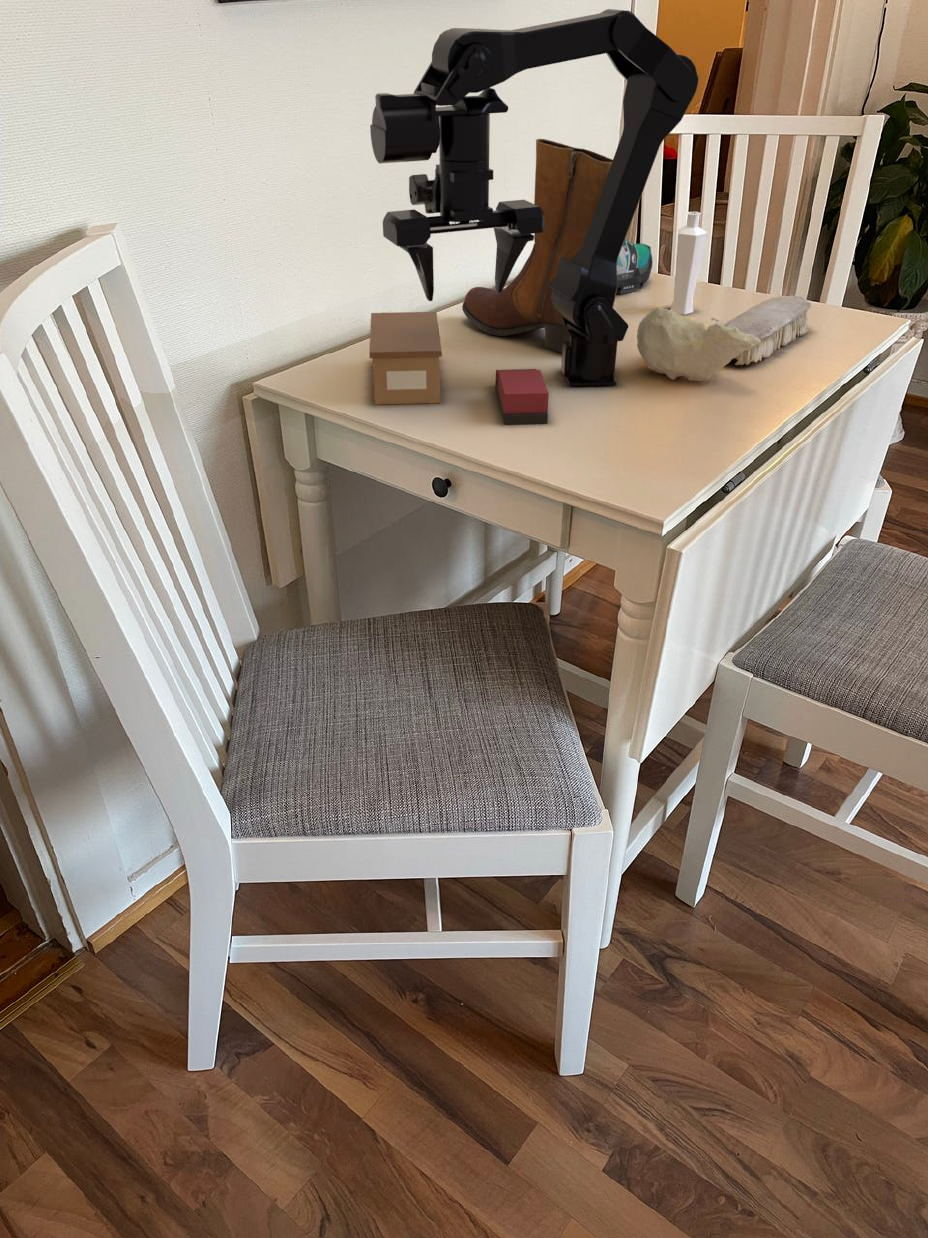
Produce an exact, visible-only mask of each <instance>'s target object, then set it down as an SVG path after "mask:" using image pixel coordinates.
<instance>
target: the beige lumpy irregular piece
mask: <svg viewBox="0 0 928 1238" xmlns="http://www.w3.org/2000/svg"><path fill="white" fill-rule="evenodd" d="M710 321H712V322H713V321H716V322H715V323H714V324H707V323H705V322H702V321H698V320H695V319H692V318H690V317H688V316H685V315H683V314H678V313H676V312H674V311H671V310H670V309H666V308H663V307H656V308H653V309H652V310H651V311H649V312H648V313H647V314H646V315H645V316H644V317H643V318H642V319H641V321H640V322H639V324H638V327H637V331H636V332H637V334H636V338H637V344H636V346H637V350H638V353H639V354H640V356H641V357H642V359H643V360H644V362H645V363H646V365H647V368H648V369H649V370H652V371H654V372H656V373H659V374H665V376H667V377H668V378H669V379H670V380H672V381H674V380H675V379H677V377H682V376H683V377H685V379H686V378H687V380H688V381H694V382H699V381H706V382H708V383H710V382H712V381H713V380H715V378H716V377H717V376H718V374H719V373H720V371H721V369H722V368H724V367H725V366H727V365H728V364H730V363H731V362H732V360H733V359H734V358H735V357H737V356H738V355H739V354H740V353H741V352H743V351H745V350H750V349H752V348H755V347H757V346H758V345H759V344H760V343H761V340H760V339H759V338H757V337H755V336H753V335H751V334H744V333H741V332H740V331H739V330H738V328H737V327H733V328H729V327H725V326H724V325H723V324H721V323H720V321H721V320H720V319H716V318H714V317H711V318H710ZM730 361H731V362H730Z"/></svg>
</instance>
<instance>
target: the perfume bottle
mask: <svg viewBox="0 0 928 1238" xmlns="http://www.w3.org/2000/svg"><path fill="white" fill-rule="evenodd" d="M686 215H687V219H686V225H685V226H682V227H681V228H680V227H679V228H678V229H677V241H676V242H677V243H676V258H675V273H674V275H675V276H674V288H673V300H672V303H671V306H670V309H669V310H671V311H674V312H676V313H678V314H680V315H683V316H685V315H688V314H692V313H694V312H695V311H694V302H693V301H694V296H695V292H696V287H697V282H698V279H699V278H698V277H699V274H700V268H701V263H702V258H703V254H704V249H705V244H706V239H707V235H708V232H707V231H705V230H704V229H703V228H701V227H700V226H699V225H700V217H701V215H702V213H701V212H699V211H687V213H686Z"/></svg>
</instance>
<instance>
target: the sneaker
mask: <svg viewBox="0 0 928 1238" xmlns="http://www.w3.org/2000/svg"><path fill="white" fill-rule="evenodd" d="M651 250H652V248H651V246H650V245H648V244H645V243H632V242H630V240H629V241H628V240H627V239H625V240H624V243H623V246H622V248H621V251H620V254H619V256H618V260H617V292H616V294H619V295H622V294H628V293H632V292H636V291H638V290H639V288H644V286H645V285H646V284H647V282H648V280H649V278H650V275H651V272H652V269H653V255H652V251H651Z"/></svg>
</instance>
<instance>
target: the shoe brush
mask: <svg viewBox="0 0 928 1238" xmlns="http://www.w3.org/2000/svg"><path fill="white" fill-rule="evenodd" d="M811 307H812V303H811V302H810V301H809V299H806V298H803V297H802V296H796V295H781V296H780V295H779V296H774V297H771V298H769V299H766V300H763V301H761V302H760V303H757V304H755V305H754V306H752V307H750V308H749V309H748V310H746V311H744V312H742V313H741V314H738V315H737V316H736V317H734V318H732V319H730V320H729V321H727V322H726V323H725V324H724V325H723V326H725V327H729V328H733V327H737V328H738V330H739V331H740V332H741V333H744V334H751V335H753V336H755V337H757V338H759V339H760V340H761V343H760V344H759V345H758V346H757V347H755V348H752V349H750V350H745V351H743V352H741V353H740V354H739V355H738V356H737V357H735V358H733V359H734V360H737V361H736V362H735V363H734V365H735V366H743V365H744V364H745V366H748V365H750V364H751V362H753V363H758V361H760V362H762V358H763V359H764V358H765V359H767V358H769V357H770V356H772V355H773V354H774V352H776V350H777V349H778V350H780V349H781V346H782V347H786V345H788V344H790V342H791V341H792V342H794V341H795V340H796V339H797V337H798V339H799V336H800V337H802V336H803V335H805V334H807V333H808V332H809V326H808V325H809V319H808V311H809V310H810V309H811ZM771 354H772V355H771ZM731 362H732V360H731V361H730V362H729V363H731Z"/></svg>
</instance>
